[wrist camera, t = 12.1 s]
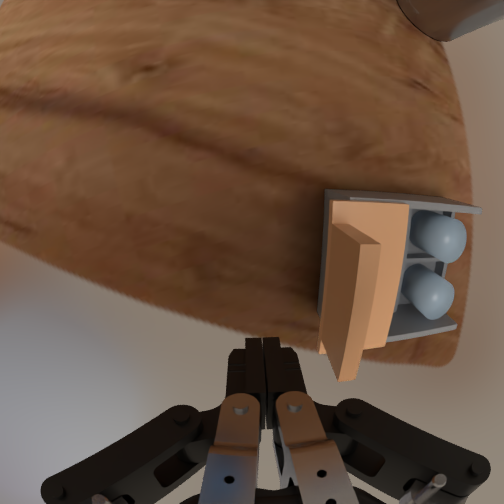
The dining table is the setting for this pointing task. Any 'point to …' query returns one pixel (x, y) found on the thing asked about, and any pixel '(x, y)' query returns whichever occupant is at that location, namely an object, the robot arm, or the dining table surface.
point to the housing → (405, 313)
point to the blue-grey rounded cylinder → (438, 235)
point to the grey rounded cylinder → (427, 291)
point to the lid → (360, 279)
